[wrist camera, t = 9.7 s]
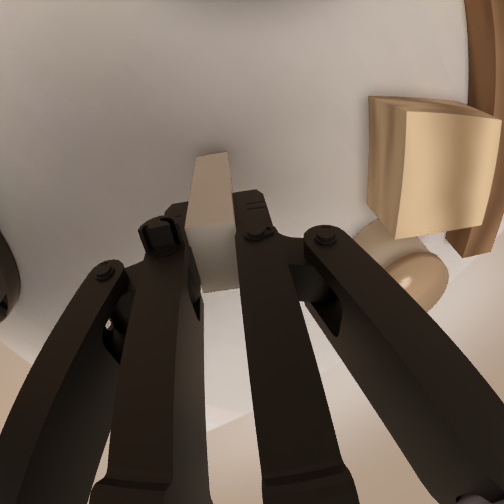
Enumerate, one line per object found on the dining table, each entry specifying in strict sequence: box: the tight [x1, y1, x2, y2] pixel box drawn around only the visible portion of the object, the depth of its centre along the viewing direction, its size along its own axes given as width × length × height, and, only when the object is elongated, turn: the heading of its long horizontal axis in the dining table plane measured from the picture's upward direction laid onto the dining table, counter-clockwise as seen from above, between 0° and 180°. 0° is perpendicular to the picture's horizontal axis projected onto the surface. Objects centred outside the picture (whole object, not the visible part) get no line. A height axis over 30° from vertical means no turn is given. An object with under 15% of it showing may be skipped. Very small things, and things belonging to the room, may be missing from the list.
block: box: [367, 96, 502, 240], centre depth 17 cm, size 8×8×5 cm
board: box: [445, 0, 504, 258], centre depth 16 cm, size 4×22×3 cm, turn 6°
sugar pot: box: [354, 219, 449, 312], centre depth 21 cm, size 7×7×6 cm
